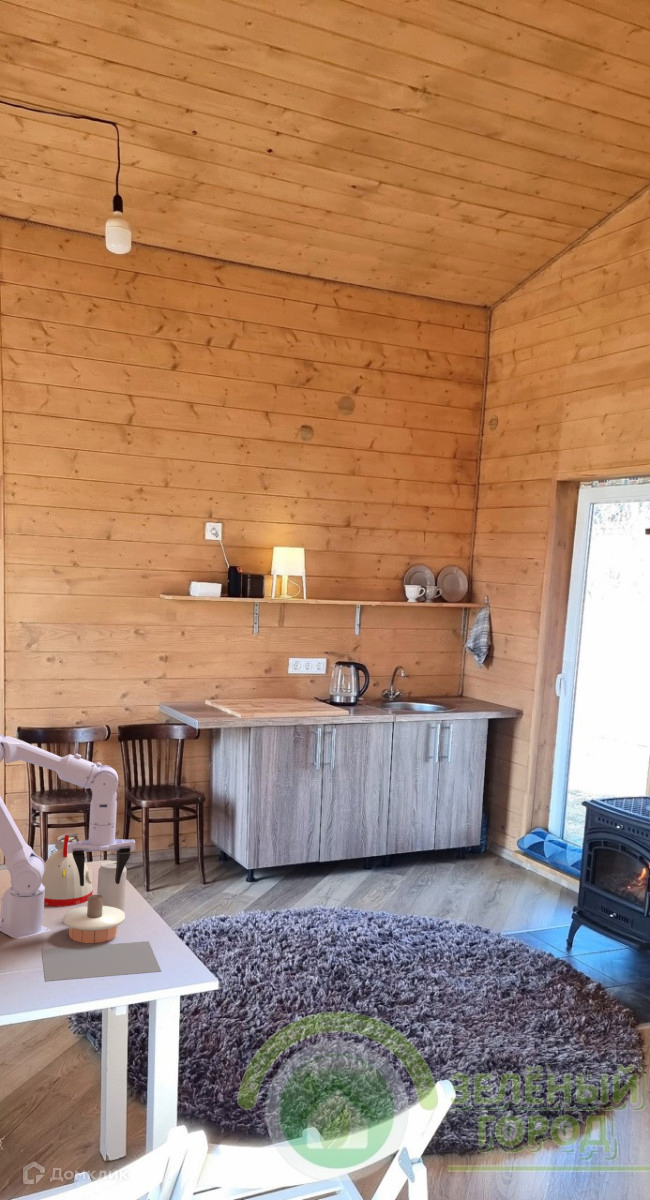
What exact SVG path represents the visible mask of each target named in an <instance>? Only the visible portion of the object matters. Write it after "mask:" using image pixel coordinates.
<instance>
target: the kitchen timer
mask: <svg viewBox="0 0 650 1200" xmlns="http://www.w3.org/2000/svg"><path fill="white" fill-rule="evenodd" d="M64 835H65V834H64ZM68 842H69V835H65V838H64V847H63V848H62V849H60V850H58V849H57V850H55V852H53V853H52V854H51V855H50V856H49V857H48V858H47V859H46V860H45V861H44V863H45V867H46V869H45V873H44V875H43V877H42V882H41V883H42V885H43V886H44V887H45V895H44V906H48V905H49V906H51V907H69V906H78V905H81V904H84V903H86V901H87V902H88V897H89V896H91V895H93V875H92V869H91V866H90V865H87V863H86V862H85V864H84V886H80V878H79V872H78V868H77V865H76V863H75V860H74V858H73V855H72V853H68V852H67V844H68Z"/></svg>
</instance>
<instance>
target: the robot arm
mask: <svg viewBox="0 0 650 1200" xmlns="http://www.w3.org/2000/svg"><path fill="white" fill-rule="evenodd" d="M3 760H4V763H5V764H9V763H12V762H13V763H14V762H18V761H23V762H26V763H29V764H33V765H35V766H38V767H41V768H45V769H48V770H50V771H53V772H56V774H57V777H58V779H60V780H61V781H64V782H67V783H70V784H73V785H75V786H78V787H81V788H84V789H91V792H92V793H91V794H92V796H91V801H90V805H89V806H90V807H89V827H88V839H86V840H79V841H78V842H68V844H67V852H68V853H72V855H73V858H74V860H75V863H76V865H77V868H78V872H79V878H80V886H84V864H85V863H86V856H85V853H86V852H88V853H89V852H105V851H106V852H107V851H116V861H117V866H116V875H115V882H116V884H119V883H120V878H121V875H122V872H123V869H124V867H126V864H127V863H128V860H129V859H130V857H131V851H135V850H136V841H135V839H123V838H122V839H119V838H116V832H117V831H116V828H117V827H116V826H117V809H118V801H117V799H118V798H117V797H118V793H117V790H118V788H119V776H118V773H117V772H118V771H116V770H115V769H114V767H112V766H110V765H109V764H108V765H107V764H103V765H102V762H99V761H97V763H94V762H93V761H90V760H87V759H84V758H82V755H81V754H79V753H75V755H73V754H71V753H69V754H67V755H64V756H59V755H57V754H55V753H53V752H50V751H47V750H45V749H43V748H41V747H38V746H35V745H33V744H31V743H28V742H26V741H25V740H22V739H18V738H15V737H14V736H9V735H6V736H5V735H4V734H2V733H0V763H1V762H2V761H3ZM0 850H1V852H2V854H3V856H4V858H5V863H6V869H7V871H8V872H9V875H10V887H9V888H8V889H5V891H4V893H3V895H2V898H1V902H0V903H1V904H0V932H1V933H3V934H5V935H6V936H9V937H11V938H13V939H16V940H18V939H19V940H21V939H25V938H29V937H31V936H36V935H40V934H43V933H47V932H51V929H50V928H48V927H46V926H44V922H43V921H44V909H45V908H44V907H45V905H44V895H45V887H44V886H43V885H42V883H41V882H42V877H43V875H44V873H45V869H46V867H45V860H44V859H43V858H42V857H40V856H38V855H37V854H36V853H35V852H34V850H33V849H32V847H31V846H30V845H28V844H27V842H26V841H25V839H24V837H23V835H22V833H21V832H20V829H19V828H18V826H17V823H16V822H15V820H14V819H13V816H12V815H11V813H10V811H9V809H8V808H7V805H6V804H5V801H4V800H3V798H2V796H1V795H0Z"/></svg>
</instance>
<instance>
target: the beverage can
mask: <svg viewBox="0 0 650 1200" xmlns="http://www.w3.org/2000/svg"><path fill="white" fill-rule="evenodd" d="M116 866H117V860H108V861H104V862H101V863H100V866H99V868H98V874H97V891H96V892H97V894H96V895H101V896H103V906H110V907H115V908H118V909H120V910H122V911H123V912H124V913H125V906H126V905H125V903H126V886H127V867H126V866H125V867H124V869H123V872H122V875H121V878H120V883H119V884H116V882H115V875H116Z"/></svg>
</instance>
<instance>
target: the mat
mask: <svg viewBox="0 0 650 1200" xmlns="http://www.w3.org/2000/svg"><path fill="white" fill-rule="evenodd" d="M41 957H42V965H43V973H44V974H43V975H44V981H45V982H55V981H67V980H77V979H78V980H79V979H91V978H100V977H101V978H102V977H103V978H104V977H112V976H113V977H114V976H125V975H138V974H148V973H161V972H162V970H161V966H160V965H159V962H158V959H157V957H156V955H155V953H154V951H153V948H152V945H151V943H150V941H136V942H135V941H133V942H123V943H122V942H121V943H107V944H93V945H92V944H91V945H81V946H67V947H66V946H65V947H52V948H50V947H49V948H41Z"/></svg>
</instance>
